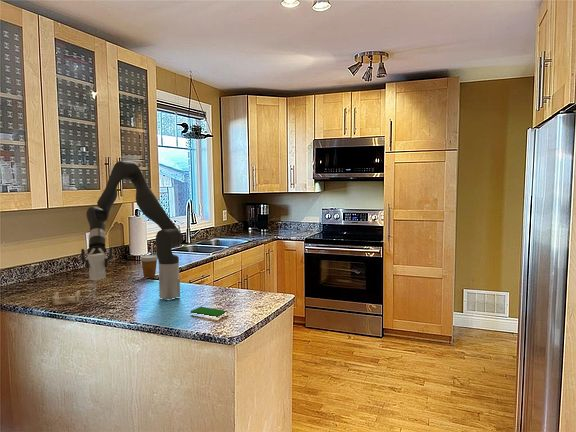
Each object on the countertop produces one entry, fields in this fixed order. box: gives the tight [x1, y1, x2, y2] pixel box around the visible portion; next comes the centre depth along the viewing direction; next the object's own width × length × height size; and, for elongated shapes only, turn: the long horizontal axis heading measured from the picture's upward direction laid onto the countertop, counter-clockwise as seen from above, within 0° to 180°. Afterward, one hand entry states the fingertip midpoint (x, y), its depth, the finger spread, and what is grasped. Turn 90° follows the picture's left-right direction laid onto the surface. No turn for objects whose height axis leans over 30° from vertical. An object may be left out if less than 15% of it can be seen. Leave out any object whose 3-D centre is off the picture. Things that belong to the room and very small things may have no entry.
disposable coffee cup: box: [139, 254, 158, 279], centre depth 236 cm, size 10×10×12 cm
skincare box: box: [87, 253, 107, 281], centre depth 197 cm, size 6×4×12 cm
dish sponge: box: [190, 306, 228, 317], centre depth 172 cm, size 7×14×2 cm, turn 65°
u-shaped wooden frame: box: [51, 289, 81, 306], centre depth 191 cm, size 10×11×3 cm
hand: (96, 267), depth 195 cm, fingers closed on skincare box, 7 cm apart
